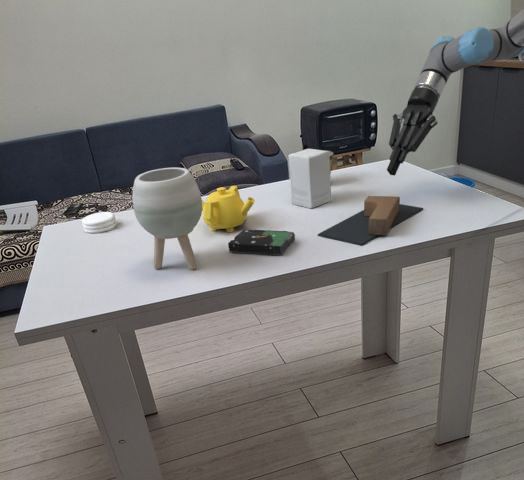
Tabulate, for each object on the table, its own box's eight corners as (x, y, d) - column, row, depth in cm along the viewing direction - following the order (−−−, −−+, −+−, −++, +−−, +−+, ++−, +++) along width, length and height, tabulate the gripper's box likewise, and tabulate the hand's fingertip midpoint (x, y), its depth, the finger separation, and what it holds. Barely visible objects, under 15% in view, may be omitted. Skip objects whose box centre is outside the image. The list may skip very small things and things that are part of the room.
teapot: (181, 235, 153) (173, 196, 147) (212, 214, 166) (206, 178, 160) (243, 240, 145) (237, 199, 139) (270, 217, 158) (267, 179, 152)
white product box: (332, 201, 165) (330, 150, 157) (311, 209, 161) (308, 157, 153) (311, 196, 171) (309, 147, 163) (291, 204, 167) (287, 154, 159)
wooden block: (367, 211, 153) (351, 234, 139) (367, 195, 151) (351, 217, 137) (399, 212, 150) (386, 236, 136) (400, 196, 147) (386, 218, 134)
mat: (423, 209, 151) (423, 207, 151) (361, 245, 134) (361, 243, 133) (380, 202, 159) (380, 200, 159) (317, 235, 142) (317, 234, 142)
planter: (194, 246, 145) (179, 161, 133) (222, 264, 133) (209, 172, 121) (138, 264, 138) (117, 176, 126) (163, 284, 126) (142, 189, 114)
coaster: (100, 220, 172) (97, 210, 170) (123, 223, 167) (121, 212, 165) (77, 232, 165) (74, 221, 163) (101, 235, 160) (97, 223, 158)
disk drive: (228, 253, 138) (282, 256, 133) (227, 243, 137) (281, 245, 132) (244, 238, 146) (295, 240, 141) (243, 228, 145) (294, 230, 139)
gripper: (452, 104, 145) (416, 182, 145) (409, 102, 153) (375, 177, 153) (444, 85, 139) (407, 167, 139) (400, 85, 148) (365, 162, 147)
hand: (390, 172), depth 146 cm, fingers closed
